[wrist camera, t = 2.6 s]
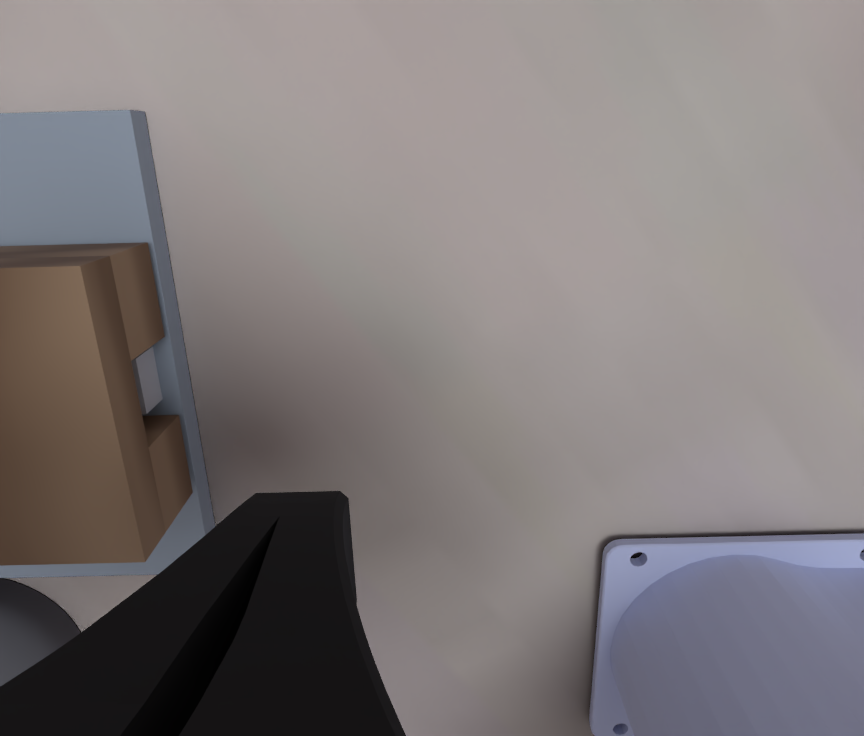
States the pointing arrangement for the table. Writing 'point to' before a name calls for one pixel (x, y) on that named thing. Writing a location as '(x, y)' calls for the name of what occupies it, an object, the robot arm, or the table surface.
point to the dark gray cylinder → (29, 628)
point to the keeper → (82, 408)
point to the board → (100, 224)
